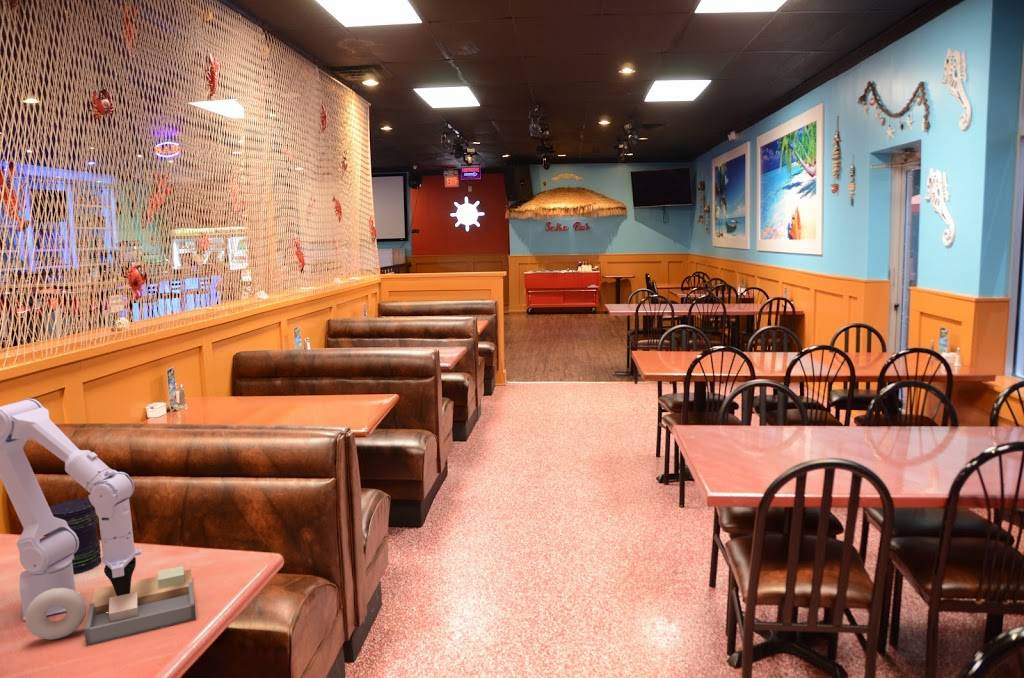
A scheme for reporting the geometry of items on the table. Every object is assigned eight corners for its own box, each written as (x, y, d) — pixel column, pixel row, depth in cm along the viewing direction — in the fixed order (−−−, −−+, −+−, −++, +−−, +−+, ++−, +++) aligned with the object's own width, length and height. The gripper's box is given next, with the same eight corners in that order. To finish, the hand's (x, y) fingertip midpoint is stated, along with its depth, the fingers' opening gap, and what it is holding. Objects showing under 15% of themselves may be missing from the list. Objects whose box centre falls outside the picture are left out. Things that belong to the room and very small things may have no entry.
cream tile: (109, 621, 142) (108, 613, 141) (110, 605, 146) (109, 597, 145) (138, 615, 144) (137, 607, 143) (138, 599, 148) (137, 591, 147)
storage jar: (49, 579, 163) (42, 516, 161) (57, 562, 172) (50, 503, 170) (99, 570, 167) (92, 508, 165) (104, 554, 176) (97, 495, 174)
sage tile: (159, 588, 152) (158, 580, 152) (158, 579, 156) (158, 570, 156) (184, 583, 154) (183, 574, 154) (183, 574, 158) (183, 565, 158)
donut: (27, 649, 134) (20, 599, 132) (29, 640, 137) (23, 591, 135) (88, 635, 138) (82, 586, 137) (89, 626, 141) (84, 579, 140)
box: (86, 645, 134) (84, 630, 134) (91, 617, 145) (89, 604, 144) (196, 619, 142) (194, 605, 142) (193, 595, 153) (192, 581, 152)
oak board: (91, 617, 145) (90, 607, 145) (95, 598, 153) (94, 589, 153) (193, 594, 153) (192, 585, 153) (191, 577, 161) (190, 569, 161)
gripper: (138, 542, 141) (145, 606, 143) (139, 518, 154) (145, 577, 155) (97, 549, 138) (104, 615, 139) (102, 525, 151) (109, 585, 152)
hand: (123, 596), depth 147 cm, fingers closed
